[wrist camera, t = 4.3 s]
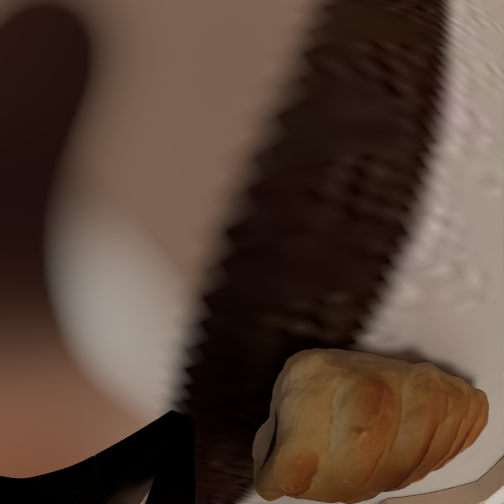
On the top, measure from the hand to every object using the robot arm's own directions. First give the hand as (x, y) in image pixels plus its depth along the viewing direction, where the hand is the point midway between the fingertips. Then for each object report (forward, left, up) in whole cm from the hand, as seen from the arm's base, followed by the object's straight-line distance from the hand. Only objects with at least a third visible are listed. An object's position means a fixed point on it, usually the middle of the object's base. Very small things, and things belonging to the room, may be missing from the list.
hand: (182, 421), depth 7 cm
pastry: (+1, -6, -2) cm, 7 cm away
